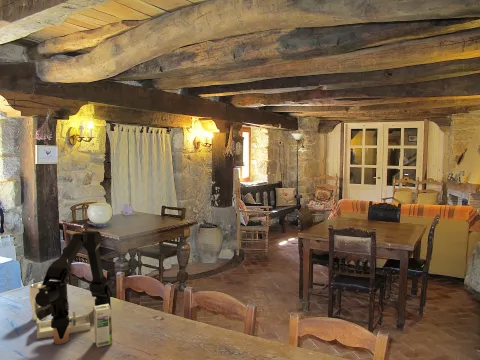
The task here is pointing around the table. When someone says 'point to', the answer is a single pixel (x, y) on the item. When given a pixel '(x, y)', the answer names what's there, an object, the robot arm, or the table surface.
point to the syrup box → (102, 325)
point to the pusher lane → (81, 325)
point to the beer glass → (33, 292)
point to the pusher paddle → (73, 319)
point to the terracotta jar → (57, 339)
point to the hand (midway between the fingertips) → (61, 335)
